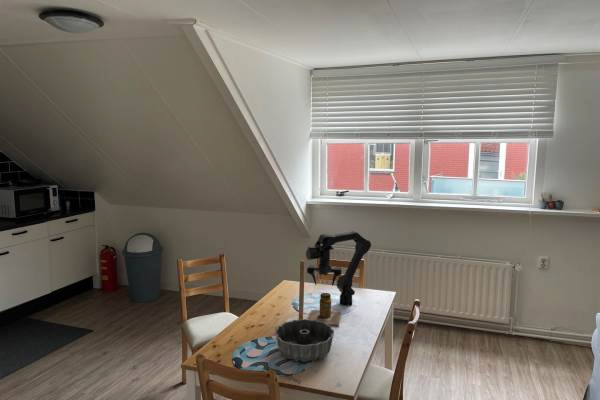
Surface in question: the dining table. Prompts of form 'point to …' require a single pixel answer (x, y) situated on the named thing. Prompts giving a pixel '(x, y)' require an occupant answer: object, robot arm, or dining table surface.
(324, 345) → the bundt pan
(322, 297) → the condiment
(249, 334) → the dining table surface
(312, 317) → the walnut board
